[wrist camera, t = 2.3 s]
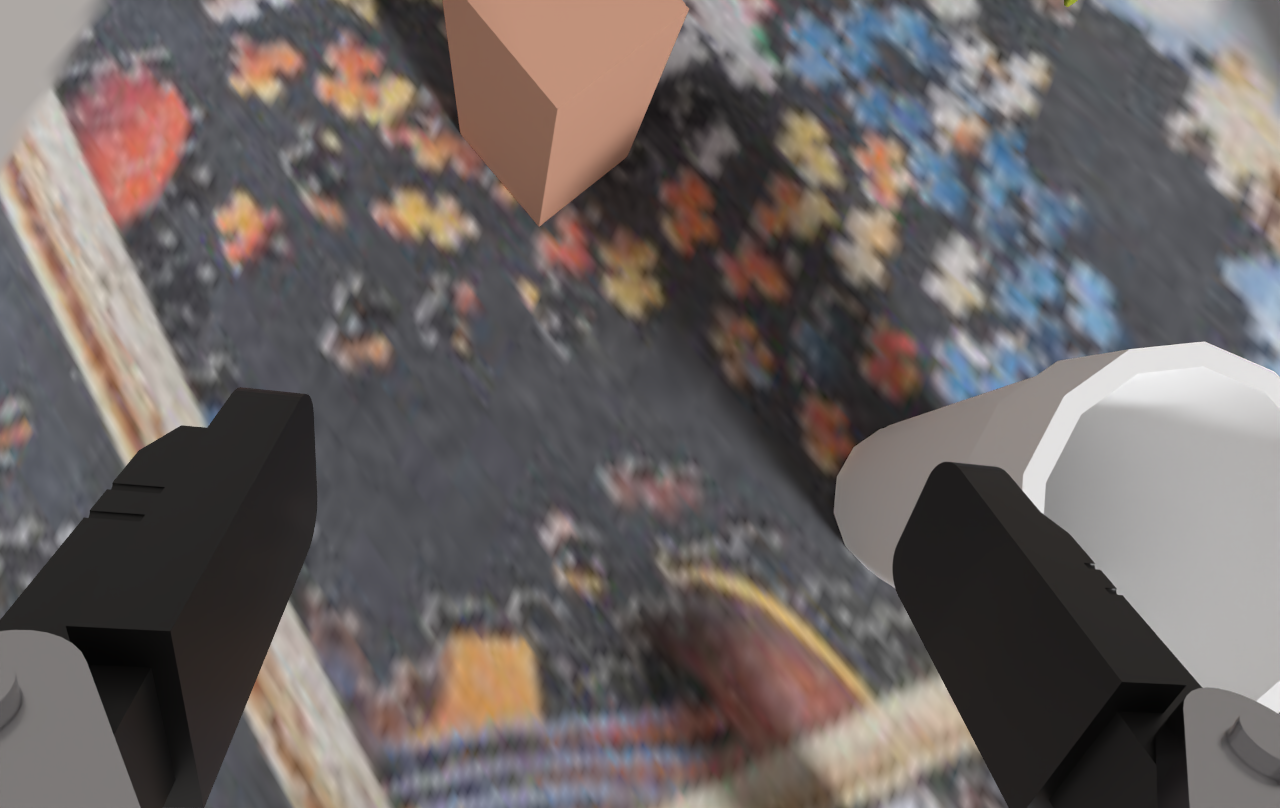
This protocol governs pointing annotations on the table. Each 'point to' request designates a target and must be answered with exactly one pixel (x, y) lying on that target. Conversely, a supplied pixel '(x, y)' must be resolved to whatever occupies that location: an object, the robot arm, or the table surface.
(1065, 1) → the bird rattle
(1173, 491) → the foam cup
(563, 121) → the tall block
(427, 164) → the table surface
